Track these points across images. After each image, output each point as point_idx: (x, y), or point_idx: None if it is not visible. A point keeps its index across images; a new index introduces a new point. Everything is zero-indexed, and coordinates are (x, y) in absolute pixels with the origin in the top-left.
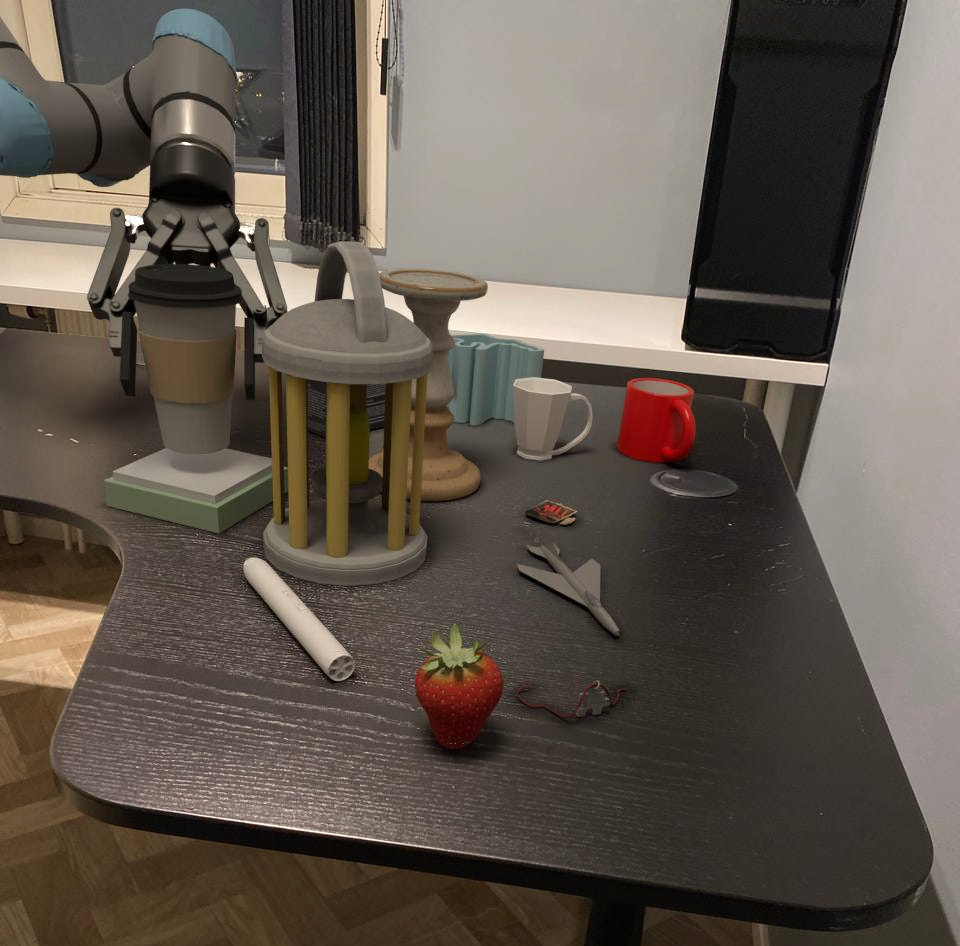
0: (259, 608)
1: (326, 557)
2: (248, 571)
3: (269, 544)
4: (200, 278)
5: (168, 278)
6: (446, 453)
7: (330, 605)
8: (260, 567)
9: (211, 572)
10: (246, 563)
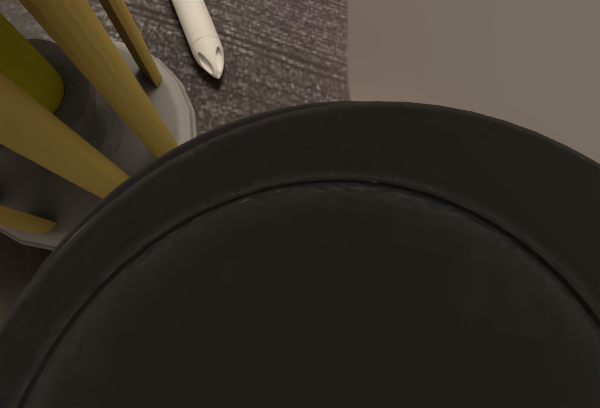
0: (210, 12)
1: (118, 45)
2: (217, 36)
3: (189, 108)
4: (256, 331)
5: (492, 150)
6: None
7: (134, 12)
8: (201, 23)
9: (262, 90)
10: (220, 65)
